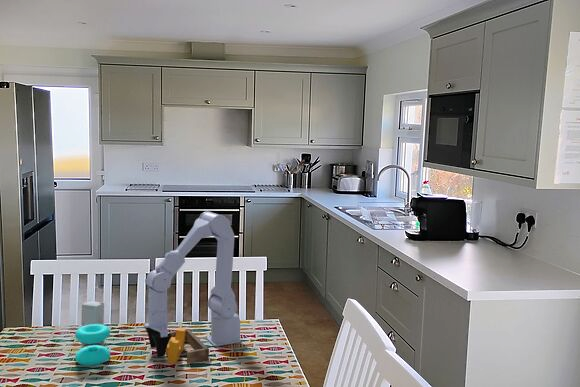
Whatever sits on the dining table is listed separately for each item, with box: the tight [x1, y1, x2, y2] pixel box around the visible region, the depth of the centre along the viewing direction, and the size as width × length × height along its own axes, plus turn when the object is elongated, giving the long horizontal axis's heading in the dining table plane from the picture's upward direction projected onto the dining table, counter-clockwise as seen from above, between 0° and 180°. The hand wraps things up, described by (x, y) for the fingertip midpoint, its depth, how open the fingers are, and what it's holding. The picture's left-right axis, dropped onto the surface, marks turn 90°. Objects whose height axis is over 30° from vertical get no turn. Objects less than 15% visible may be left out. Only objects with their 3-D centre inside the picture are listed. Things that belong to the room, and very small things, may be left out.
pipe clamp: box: [165, 327, 187, 364], centre depth 172 cm, size 12×4×6 cm, turn 0°
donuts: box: [74, 324, 111, 367], centre depth 166 cm, size 10×10×10 cm
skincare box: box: [80, 300, 105, 327], centre depth 183 cm, size 6×4×12 cm
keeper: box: [168, 328, 210, 364], centre depth 176 cm, size 7×19×4 cm, turn 29°
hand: (157, 351), depth 171 cm, fingers open, 7 cm apart
